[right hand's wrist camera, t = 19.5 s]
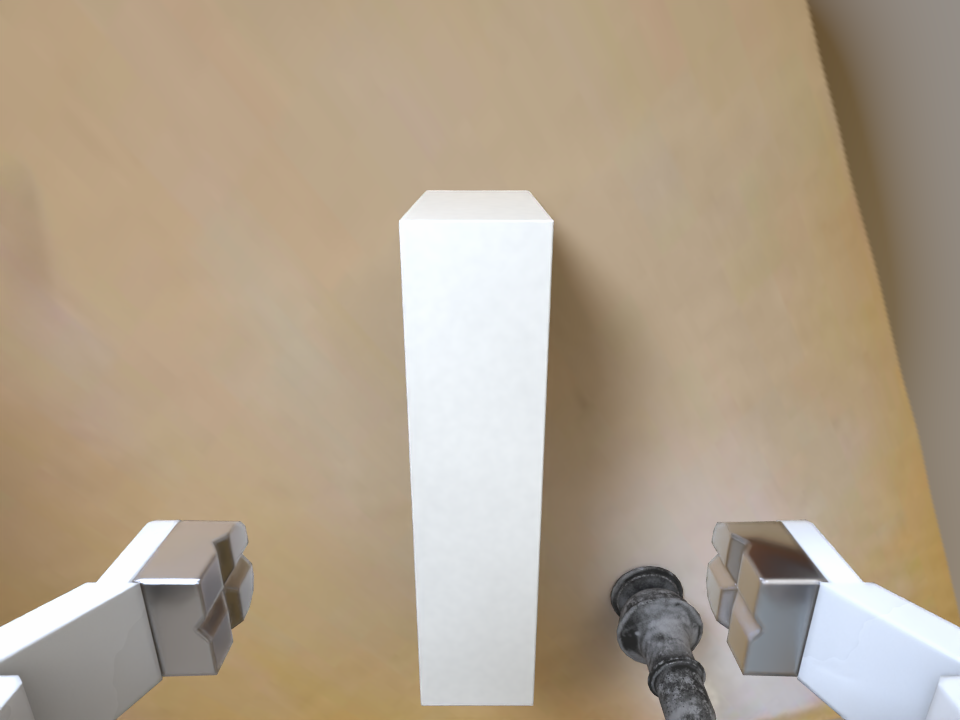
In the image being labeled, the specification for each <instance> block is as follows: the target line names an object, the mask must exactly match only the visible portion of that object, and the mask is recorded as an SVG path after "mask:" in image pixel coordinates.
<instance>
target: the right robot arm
mask: <svg viewBox="0 0 960 720" xmlns="http://www.w3.org/2000/svg"><path fill="white" fill-rule="evenodd" d="M247 544H248V537H247V532H246V527H245V525H244V524H243V523H241V522H240V521H199V520H184V521H181V520H155V521H152V522H149V523H147V524H146V525H145V527H144V528H143V529H142V530H141V531H140V532H139V533H138V535H137V536H136V537H135V538H134V539H133V540H132V542H131V543H130V544H129V545H128V546H127V547H126V549H125V550H124V551H123V552H122V553H121V554H120V556H119V557H118V558H117V559H116V560H115V561H114V562H113V564H112V565H111V566H110V567H109V568H108V569H107V571H106V572H105V573H104V574H103V575H102V576H101V578H100V579H99V580H98V581H97V582H96V583H85V584H83V585H81V586H79V587H77V588H75V589H73V590H71V591H69V592H68V593H66V594H64V595H62V596H60V597H58V598H56V599H54V600H52V601H50V602H48V603H46V604H44V605H42V606H40V607H38V608H37V609H35V610H33V611H31V612H29V613H27V614H25V615H23V616H21V617H19V618H17V619H15V620H13V621H11V622H9V623H7V624H6V625H4V626H2V627H0V720H116V719H117V718H118V717H119V716H120V715H122V714H123V713H124V712H125V711H126V710H127V709H129V708H130V707H131V706H132V705H133V704H134V703H136V702H137V701H138V700H139V699H140V698H141V697H143V696H144V695H145V694H146V693H147V692H148V691H150V690H151V689H152V688H153V687H154V686H156V685H157V684H158V683H159V682H160V681H161V680H162V677H163V676H198V675H217V674H218V672H219V670H220V668H221V666H222V664H223V662H224V660H225V657H226V655H227V653H228V651H229V649H230V647H231V645H232V643H233V637H232V631H231V629H233V628H234V627H235V626H237V625H238V624H240V623H241V622H242V621H244V618H245V616H246V614H247V612H248V610H249V607H250V603H251V599H252V594H253V586H254V575H253V568H252V563H251V562H250V561H249V560H248V559H247V558H246V557H245V556H244V555H243V554H242V553H243V551H244V549H245V548H246V546H247ZM712 544H713V546H714V548H715V549H716V551H717V553H718V554H717V555H716V556H715V557H714V558H713V559H712V560H711V561H710V562H709V563H708V569H707V577H706V585H707V596H708V600H709V603H710V607H711V610H712V612H713V614H714V616H715V618H716V621H718V622H719V623H720V624H722V625H723V626H725V627H726V628H727V629H729V631H728V637H727V643H728V645H729V647H730V649H731V651H732V653H733V655H734V657H735V659H736V661H737V663H738V665H739V668H740V670H741V672H742V674H743V675H761V676H796V677H798V678H797V679H798V680H799V681H800V682H801V683H802V684H804V685H805V686H806V687H807V688H808V689H809V690H811V691H812V692H813V693H814V694H815V695H816V696H818V697H819V698H820V699H821V700H822V701H823V702H825V703H826V704H827V705H828V706H829V707H830V708H832V709H833V710H834V711H835V712H836V713H837V714H839V715H840V716H841V717H842V718H843V719H844V720H960V627H958V626H956V625H954V624H952V623H950V622H948V621H947V620H945V619H943V618H941V617H939V616H937V615H935V614H933V613H931V612H929V611H927V610H925V609H923V608H921V607H919V606H918V605H916V604H914V603H912V602H910V601H908V600H906V599H904V598H902V597H900V596H898V595H896V594H894V593H892V592H891V591H889V590H887V589H885V588H883V587H881V586H879V585H877V584H875V583H864V582H863V581H862V580H861V579H860V578H859V576H858V575H857V574H856V573H855V572H854V571H853V569H852V568H851V567H850V566H849V565H848V564H847V563H846V561H845V560H844V559H843V558H842V557H841V556H840V554H839V553H838V552H837V551H836V550H835V549H834V547H833V546H832V545H831V544H830V543H829V542H828V540H827V539H826V538H825V537H824V536H823V535H822V534H821V532H820V531H819V530H818V529H817V528H816V527H815V525H814V524H813V523H811V522H809V521H807V520H780V521H765V522H717V524H716V526H715V528H714V531H713V537H712Z"/></svg>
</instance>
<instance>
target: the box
mask: <svg viewBox="0 0 960 720" xmlns="http://www.w3.org/2000/svg"><path fill="white" fill-rule="evenodd" d="M553 230H554V221H553V220H552V218H551V217H550V216H549V215H548V213H547V212H546V211H545V210H544V209H543V207H542V206H541V205H540V204H539V202H538V201H537V200H536V199H535V198H534V196H533V195H532V194H531V193H530V191H528V190H427V191H425V193H424V194H423V195H422V196H421V197H420V198H419V199H418V200H417V201H416V203H415V204H414V205H413V206H412V207H411V208H410V209H409V210H408V211H407V213H406V214H405V215H404V216H403V217H402V218H401V219H400V220H399V234H400V256H401V278H402V300H403V322H404V344H405V366H406V388H407V410H408V432H409V454H410V475H411V497H412V519H413V541H414V563H415V585H416V607H417V629H418V651H419V673H420V695H421V705H422V706H532V705H533V702H534V679H535V655H536V631H537V608H538V584H539V561H540V537H541V513H542V490H543V466H544V442H545V419H546V395H547V372H548V348H549V324H550V301H551V277H552V254H553Z"/></svg>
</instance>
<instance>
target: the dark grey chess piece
mask: <svg viewBox="0 0 960 720" xmlns="http://www.w3.org/2000/svg"><path fill="white" fill-rule="evenodd" d="M611 603H612V606H613V608H614V611H615V612H616V613H617V614H618V615H619V617H620V618H619V625H618V628H617V641H618V643H619V645H620V648H621V649H622V651H623V652H624V653H625V654H626V655H627V656H628V657H630V658H632V659H633V660H635V661H637V662H640V663H643V664H647V666H648V670H649V676H648V686H649V688H650V690H651V692H652V693H653V694H654V695H656V696H657V697H659V700H660V704H661V707H662V710H663V713H664V716H665V719H666V720H716V715H715V712H714V709H713V707H712V704H711V702H710V699H709V697H708V694H707V692H706V689H705V687H704V682H705V679H706V673H705V671H704V668H703V666H702V665H701V664H700V663H699V662H698V661H696V660H695V659H694V657H693V654H692V652H691V651H693V650H694V649H695V647H696V646H697V644H698V643H699V641H700V639H701V636H702V633H703V623H702V621H701V618H700V615H699V614H698V612H697V611H696V610H695V609H694V607H692V606H691V605H689V604H688V603H687V602H686V601H685V600H684V599H683V589H682V586H681V583H680V581H679V580H678V579H677V577H676V576H675V575H674V574H672V573H671V572H669V571H668V570H665V569H663V568H660V567H651V566H649V567H640V568H637V569H634V570H631V571H630V572H628V573H626V574H624V575H623V576H622V577H621V578H620V579H619V580H618V581H617V582H616V584H615V585H614V587H613V590H612V593H611Z"/></svg>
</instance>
